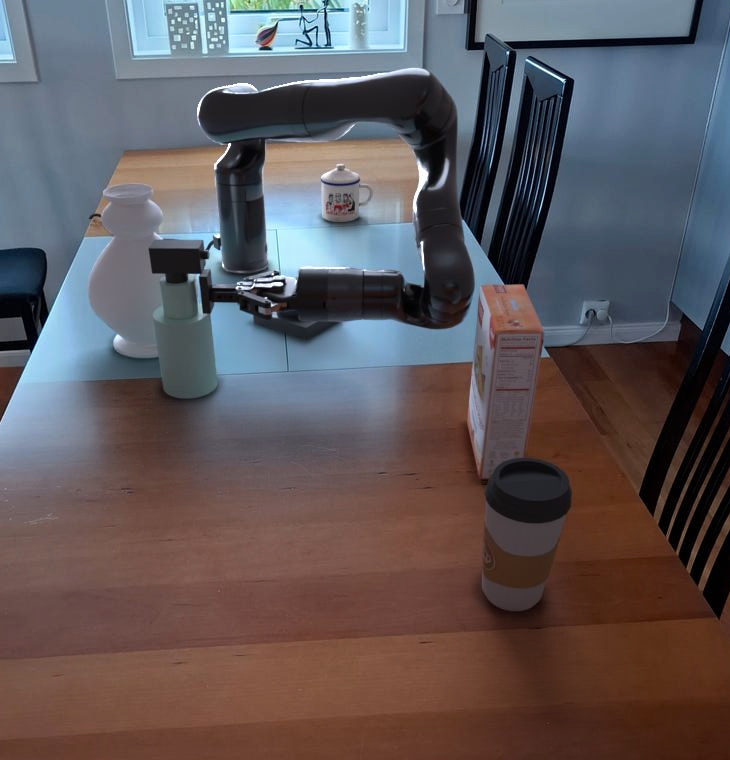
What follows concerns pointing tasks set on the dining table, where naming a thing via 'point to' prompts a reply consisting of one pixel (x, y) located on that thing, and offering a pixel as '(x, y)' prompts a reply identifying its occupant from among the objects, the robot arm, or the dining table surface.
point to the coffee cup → (522, 530)
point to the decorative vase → (128, 270)
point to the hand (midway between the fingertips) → (211, 293)
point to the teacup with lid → (342, 195)
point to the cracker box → (503, 375)
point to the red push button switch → (293, 324)
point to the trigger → (206, 291)
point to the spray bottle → (182, 320)
